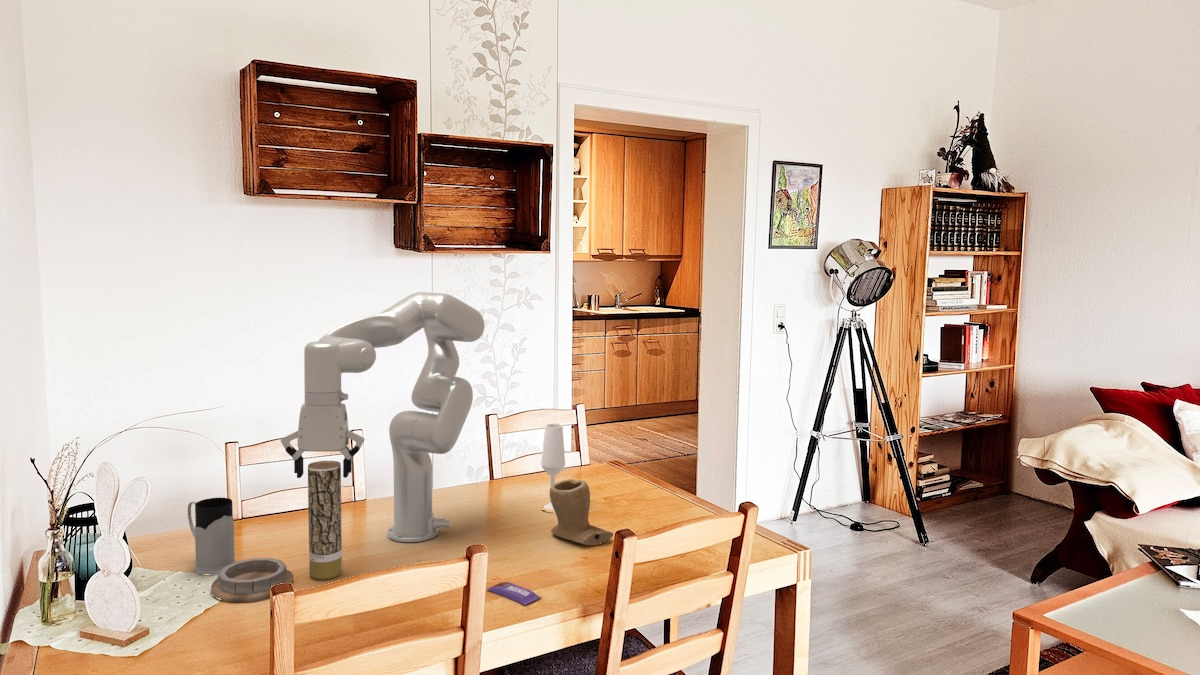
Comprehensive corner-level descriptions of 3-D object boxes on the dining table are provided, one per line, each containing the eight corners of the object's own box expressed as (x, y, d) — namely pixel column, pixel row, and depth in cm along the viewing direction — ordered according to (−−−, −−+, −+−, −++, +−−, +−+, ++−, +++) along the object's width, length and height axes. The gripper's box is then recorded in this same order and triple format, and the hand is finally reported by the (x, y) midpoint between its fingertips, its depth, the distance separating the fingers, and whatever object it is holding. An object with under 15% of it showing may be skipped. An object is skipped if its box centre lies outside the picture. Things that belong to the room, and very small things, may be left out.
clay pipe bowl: (539, 537, 205) (540, 479, 203) (573, 526, 213) (574, 471, 211) (580, 554, 194) (581, 493, 192) (614, 542, 202) (616, 484, 201)
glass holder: (208, 578, 175) (206, 511, 173) (171, 563, 182) (169, 499, 180) (245, 565, 182) (243, 501, 180) (208, 551, 189) (206, 490, 188)
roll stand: (300, 570, 180) (300, 554, 180) (283, 601, 165) (283, 583, 164) (225, 572, 178) (224, 556, 177) (200, 604, 162) (199, 586, 162)
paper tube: (331, 582, 174) (330, 469, 171) (303, 579, 176) (301, 467, 173) (347, 570, 181) (346, 461, 178) (320, 567, 182) (318, 459, 179)
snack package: (541, 592, 169) (525, 600, 165) (541, 601, 169) (525, 609, 165) (502, 577, 176) (485, 584, 172) (502, 586, 176) (485, 593, 172)
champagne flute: (568, 508, 228) (570, 425, 225) (555, 514, 222) (556, 429, 219) (549, 503, 231) (551, 421, 228) (535, 509, 225) (537, 425, 223)
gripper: (366, 396, 179) (366, 471, 180) (285, 395, 176) (285, 472, 178) (361, 402, 171) (361, 480, 173) (276, 401, 169) (277, 481, 170)
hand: (323, 476), depth 175 cm, fingers open, 9 cm apart
